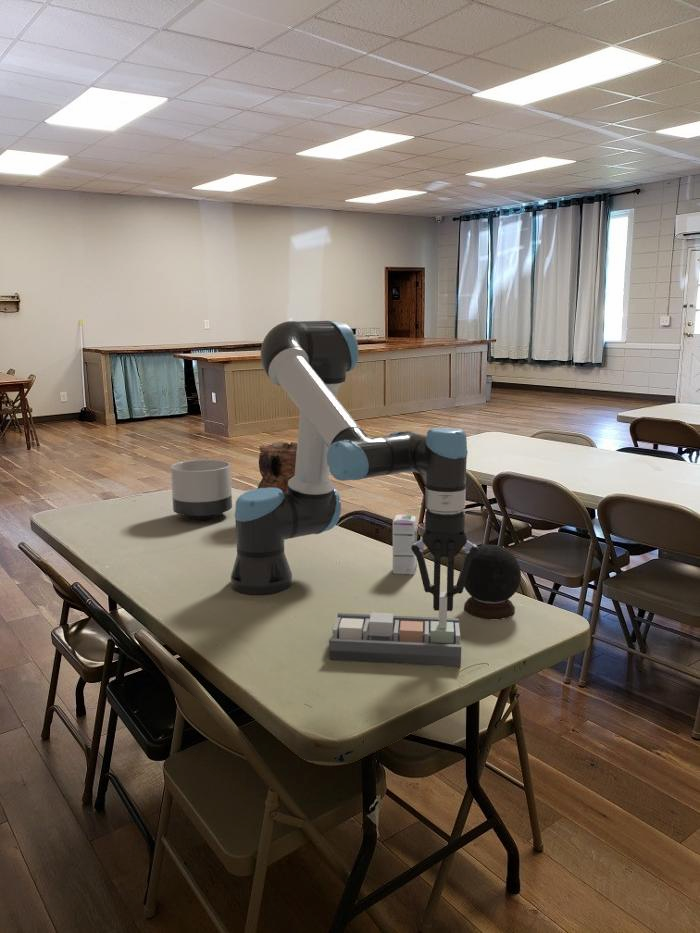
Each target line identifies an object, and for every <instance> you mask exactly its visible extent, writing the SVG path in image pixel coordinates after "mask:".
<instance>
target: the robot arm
mask: <svg viewBox="0 0 700 933" xmlns="http://www.w3.org/2000/svg"><path fill="white" fill-rule="evenodd" d="M354 333H355V332H353V329H352V328H351V327H350V326H349V325H347V324H346V323H345V322H341V321H332V320H309V321H308V320H307V321H305V320H304V321H297V320H295V321H294V320H293V321H292V320H291V321H290V320H289V321H283V322H280V323H279V324H277V325H275V326H274V327H273V328H272V329H270V330H269V331H268V333H267V334H266V335H265V336H264V339H263V341H262V343H261V347H260V348H261V349H260V362H261V364H262V368H263V370H264V372H265V374H266V375H267V377H268V379H270V381H271V382H272V383H273V384H275V385H277V386H281V387H282V389H283V390H284V391H285V393H286V395H287V396H289V398H290V399H291V400H292V402H293V403H294V404H295V406H296V408H297V409H298V410H299V420H298V431H297V442H296V443H297V453H296V465H295V476H293V477H292V478H291V479H290V480H289V481H288V488H287V492H282V490H281V489H278V488H273V487H268V488H259V489H258V488H255V489H251V490H248V491H246V492H243V493H242V494H241V495H239V496H238V497H237V499H236V500H235V510H234V519H235V535H236V536H235V539H236V557H235V560H234V564H233V567H232V570H231V574H230V587H231V589H233V590H234V591H235V592H236V591H237V592H239V593H241V594H246V595H268V594H269V595H270V594H275V593H279V592H282V591H284V590H286V589H288V588H289V587H291V586H292V584H293V573H292V570H291V568H290V565H289V561H288V559H287V556H286V553H285V540H288V539H294V538H295V539H296V538H300V537H305V536H310V535H318V534H319V535H320V534H321V533H324V532H327V531H330V530H332V529H333V528H334V527H336V525H337V524H338V522H339V520H340V517H341V514H342V501H340V499H341V497H340V494H339V492H338V490H337V489H336V488H335V485H334V483H333V481H332V480H330V479H329V478H330V474H331V476H332V477H333V478H334V479H336V480H338V481H343V482H344V481H346V482H347V481H360V480H362V479H368V478H374V477H381V476H388V475H395V474H403V473H410V472H413V473H417V474H419V475H420V474H421V475H424V476H425V479H426V480H425V508H426V511H424V513H425V515H424V518H425V519H424V532H423V533H422V534H423V535H422V537H421V539H420V540H417V542H413V543H412V546H411V549H412V551H413V553H414V554H415V556H416V557H417V566H418V568H419V573H420V577H421V582H422V586H423V590H424V592H425V593H430V594H432V597H433V600H432V601H433V602H432V603H433V606H432V607H433V610H434V611H437V612H438V618H439V628H446V629H447V618H448V612H452V611H453V609H454V597H455V595H457V594H463V592H464V589H465V587H464V585H465V582H466V579H467V575H468V572H469V568H470V565H471V561H472V558H473V557H474V556H475V554H476V553H477V552H478V548H477V547H478V545H477V544H476V543H475V542H473V543H472V542H471V541H469V540H468V537H467V535H466V532H465V530H466V528H465V527H466V526H465V524H466V522H465V521H466V520H465V519H466V512H465V511H464V509H465V508H466V492H467V491H466V490H467V487H466V483H467V461H468V460H467V458H468V446H467V445H468V442H467V433H466V432H465V430H462V429H461V428H457V427H432V428H429V429H428V430H427V432H426V435H425V434H420V433H416V432H412V431H409V430H406V431H403V430H401V431H400V430H396V431H393V432H392V433H390V434H388V435H385V436H374V437H370V436H368V435H367V434H366V433H365V432H366V431H365V432H364V429H362V428H361V427H360V425H358V422H356V420H355V419H354V417H353V416H351V414H350V413H349V412H348V411H347V409H346V408H345V407H344V406H343V405H342V403H341V401H339V400H338V392H339V388H340V387H341V386H342V385H343V384H344V383H345V382H346V379H347V372H350V371H351V370H352V371H353V370H354V369H355V367H356V366H357V364H358V361H359V360H358V359H359V344H358V340H357V338H356V335H355V334H354ZM425 547H426V548H427V549H428V551H429V552H430V554H431V555H432V556H433V557H434V558H433V561H434V562H433V584H431V581H430V576H429V573H428V572H429V571H428V567H427V564H426V560H425V556H424V551H425ZM462 549H464V553H465V554H464V557H463V560H462V563H461V564H462V565H461V568H460V570H459V574H458V577H457V581H456V582H457V583H456V584H455V583H454V582H455V581H454V578H455V576H454V575H455V574H454V573H455V557H456V556H457V555H458V554H459V553H460V551H461V550H462ZM442 558H447V559H446V560H447V564H446V566H447V568H446V591H441V566H442V564H441V562H442V560H441V559H442ZM454 584H455V585H454Z"/></svg>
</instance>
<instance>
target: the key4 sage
mask: <svg viewBox="0 0 700 933" xmlns="http://www.w3.org/2000/svg"><path fill="white" fill-rule="evenodd" d="M430 642H436V643H454V624H453V622H447V629H446V628H439V621H431V631H430Z"/></svg>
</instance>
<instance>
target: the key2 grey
mask: <svg viewBox="0 0 700 933" xmlns="http://www.w3.org/2000/svg"><path fill="white" fill-rule="evenodd" d="M370 615H371V616H370V621H369V633H376V634H392V631H393V616H394V613H392V612H370Z"/></svg>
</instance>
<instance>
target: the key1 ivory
mask: <svg viewBox="0 0 700 933" xmlns="http://www.w3.org/2000/svg"><path fill="white" fill-rule="evenodd" d="M363 629H364V619H351V618H342V619H341V622H340V626H339V639H355V640H362V636H363Z"/></svg>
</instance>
